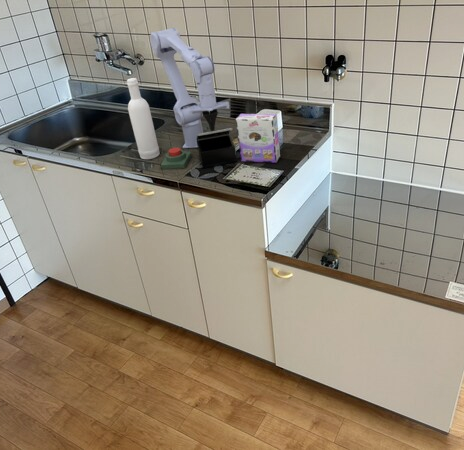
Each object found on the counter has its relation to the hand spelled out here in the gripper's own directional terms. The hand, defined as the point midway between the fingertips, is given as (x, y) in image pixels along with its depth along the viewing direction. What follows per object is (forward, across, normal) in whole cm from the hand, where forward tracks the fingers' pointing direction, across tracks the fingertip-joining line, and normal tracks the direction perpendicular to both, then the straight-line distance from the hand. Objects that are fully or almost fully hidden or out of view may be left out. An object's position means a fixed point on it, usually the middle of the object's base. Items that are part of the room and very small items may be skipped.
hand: (212, 129), depth 172 cm
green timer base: (+10, -15, +1) cm, 18 cm away
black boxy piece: (+10, 0, -3) cm, 11 cm away
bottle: (+11, -25, +12) cm, 30 cm away
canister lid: (+1, 0, -3) cm, 3 cm away
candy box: (+11, +15, -10) cm, 21 cm away
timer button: (+7, -15, +1) cm, 17 cm away
